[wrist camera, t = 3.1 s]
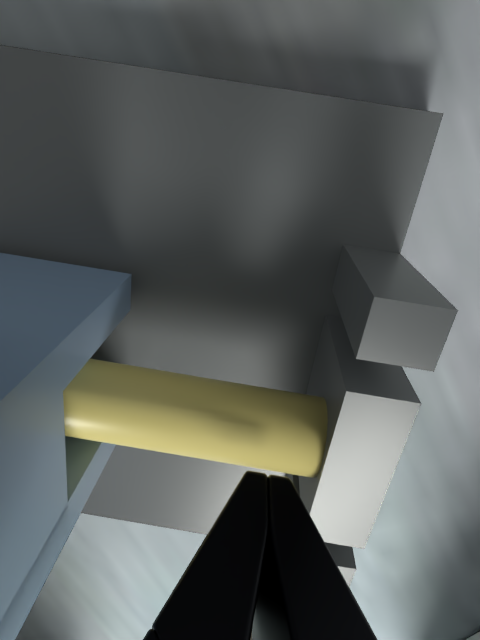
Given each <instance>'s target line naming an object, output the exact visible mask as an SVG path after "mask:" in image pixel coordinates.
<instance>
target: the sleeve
mask: <svg viewBox="0 0 480 640" xmlns="http://www.w3.org/2000/svg"><path fill="white" fill-rule="evenodd" d="M131 276H132V274H128V273H122V272H116V271H110V270H104V269H97V268H91V267H85V266H79V265H73V264H67V263H61V262H54V261H48V260H42V259H36V258H30V257H24V256H17V255H11V254H5V253H0V640H15V639H16V637H17V635H18V633H19V631H20V629H21V628H22V626H23V624H24V622H25V620H26V618H27V616H28V614H29V612H30V610H31V608H32V606H33V604H34V602H35V600H36V599H37V597H38V595H39V593H40V591H41V589H42V587H43V585H44V583H45V581H46V579H47V577H48V575H49V573H50V571H51V570H52V568H53V566H54V564H55V562H56V560H57V558H58V556H59V554H60V552H61V550H62V548H63V546H64V544H65V542H66V541H67V539H68V537H69V535H70V533H71V531H72V529H73V527H74V525H75V523H76V521H77V519H78V517H79V515H80V513H81V511H82V510H83V508H84V506H85V504H86V502H87V500H88V498H89V496H90V494H91V492H92V490H93V488H94V486H95V484H96V482H97V481H98V479H99V477H100V475H101V473H102V471H103V469H104V467H105V465H106V463H107V461H108V459H109V457H110V455H111V453H112V452H113V450H114V448H115V446H116V444H110V443H104V442H98V441H92V440H86V439H80V438H75V437H69V436H65V426H64V403H63V391H64V389H65V388H66V387H67V386H68V384H69V383H70V382H71V381H72V380H73V378H74V377H75V376H76V375H77V374H78V372H79V371H80V370H81V369H82V368H83V366H84V365H85V364H86V363H87V362H88V360H89V359H90V358H91V357H92V356H93V354H94V353H95V352H96V351H97V350H98V348H99V347H100V346H101V345H102V343H103V342H104V341H105V340H106V339H107V337H108V336H109V335H110V334H111V333H112V331H113V330H114V329H115V328H116V327H117V325H118V324H119V323H120V322H121V321H122V319H123V318H124V317H125V316H126V315H127V313H128V312H129V311H130V305H131Z"/></svg>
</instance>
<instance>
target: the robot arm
mask: <svg viewBox="0 0 480 640" xmlns="http://www.w3.org/2000/svg"><path fill="white" fill-rule="evenodd" d="M251 632H252V635H253V636H252V637H253V638H252V639H253V640H377V638H376V636H375V635H374V633H373V631H372V629H371V627H370V625H369V623H368V622H367V620H366V618H365V616H364V614H363V612H362V610H361V609H360V607H359V605H358V603H357V601H356V599H355V597H354V596H353V594H352V592H351V590H350V588H349V586H348V585H347V583H346V581H345V579H344V577H343V575H342V573H341V572H340V570H339V568H338V566H337V564H336V562H335V560H334V559H333V557H332V555H331V553H330V551H329V549H328V547H327V546H326V544H325V542H324V540H323V538H322V536H321V535H320V533H319V531H318V529H317V527H316V525H315V523H314V522H313V520H312V518H311V516H310V514H309V512H308V510H307V509H306V507H305V505H304V503H303V501H302V499H301V497H300V496H299V494H298V492H297V490H296V488H295V486H294V484H293V483H292V481H291V479H290V478H288V477H284V476H278V475H272V474H271V475H269V476H268V477H267V475H266V474H265V473H261V472H255V471H246V472H245V473H244V475H243V477H242V478H241V480H240V482H239V483H238V485H237V487H236V488H235V490H234V491H233V493H232V495H231V496H230V498H229V500H228V501H227V503H226V505H225V506H224V508H223V510H222V511H221V513H220V514H219V516H218V518H217V519H216V521H215V523H214V524H213V526H212V528H211V529H210V531H209V533H208V534H207V536H206V538H205V539H204V541H203V542H202V544H201V546H200V547H199V549H198V551H197V552H196V554H195V556H194V557H193V559H192V561H191V562H190V564H189V566H188V567H187V569H186V570H185V572H184V574H183V575H182V577H181V579H180V580H179V582H178V584H177V585H176V587H175V589H174V590H173V592H172V594H171V595H170V597H169V598H168V600H167V602H166V603H165V605H164V607H163V608H162V610H161V612H160V613H159V615H158V617H157V618H156V620H155V621H154V623H153V625H152V629H150V630H149V631H148V632H147V634H146V636H145V637H144V639H143V640H250V638H251Z"/></svg>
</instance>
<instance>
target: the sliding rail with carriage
mask: <svg viewBox="0 0 480 640" xmlns="http://www.w3.org/2000/svg"><path fill="white" fill-rule="evenodd" d="M442 117H443V113H436V112H430V111H423V110H417V109H410V108H404V107H397V106H391V105H384V104H378V103H371V102H365V101H359V100H352V99H346V98H339V97H333V96H326V95H320V94H313V93H307V92H300V91H294V90H287V89H281V88H274V87H268V86H262V85H255V84H249V83H242V82H236V81H229V80H223V79H216V78H210V77H203V76H197V75H190V74H184V73H177V72H171V71H165V70H158V69H152V68H145V67H139V66H132V65H126V64H119V63H113V62H106V61H100V60H93V59H87V58H80V57H74V56H68V55H61V54H55V53H48V52H42V51H35V50H29V49H22V48H16V47H9V46H3V45H0V253H5V254H11V255H17V256H24V257H30V258H36V259H42V260H48V261H54V262H61V263H67V264H73V265H79V266H85V267H91V268H97V269H104V270H110V271H116V272H122V273H128V274H132V276H131V305H130V311H129V312H128V313H127V315H126V316H125V317H124V318H123V319H122V321H121V322H120V323H119V324H118V325H117V327H116V328H115V329H114V330H113V331H112V333H111V334H110V335H109V336H108V337H107V339H106V340H105V341H104V342H103V343H102V345H101V346H100V347H99V348H98V350H97V351H96V352H95V353H94V354H93V356H92V357H91V358H90V359H89V360H88V362H87V363H86V364H85V365H84V366H83V368H82V369H81V370H80V371H79V372H78V374H77V375H76V376H75V377H74V378H73V380H72V381H71V382H70V383H69V384H68V386H67V387H66V388H65V389H64V391H63V403H64V426H65V436H69V437H75V438H80V439H86V440H92V441H98V442H104V443H110V444H116V446H115V448H114V450H113V452H112V453H111V455H110V457H109V459H108V461H107V463H106V465H105V467H104V469H103V471H102V473H101V475H100V477H99V479H98V481H97V482H96V484H95V486H94V488H93V490H92V492H91V494H90V496H89V498H88V500H87V502H86V504H85V506H84V508H83V510H82V511H81V513H84V514H90V515H96V516H102V517H107V518H113V519H119V520H125V521H131V522H137V523H142V524H148V525H154V526H160V527H166V528H171V529H177V530H183V531H189V532H195V533H201V534H206V535H207V534H208V533H209V531H210V529H211V528H212V526H213V524H214V523H215V521H216V519H217V518H218V516H219V514H220V513H221V511H222V510H223V508H224V506H225V505H226V503H227V501H228V500H229V498H230V496H231V495H232V493H233V491H234V490H235V488H236V487H237V485H238V483H239V482H240V480H241V478H242V477H243V475H244V473H245V472H246V471H255V472H261V473H265V474H266V475H267V477H268V476H269V475H271V474H272V475H278V476H284V477H288V478H290V479H291V481H292V483H293V484H294V486H295V488H296V490H297V492H298V494H299V496H300V497H301V499H302V501H303V503H304V505H305V507H306V509H307V510H308V512H309V514H310V516H311V518H312V520H313V522H314V523H315V525H316V527H317V529H318V531H319V533H320V535H321V536H322V538H323V540H324V542H325V544H326V546H327V547H328V549H329V551H330V553H331V555H332V557H333V559H334V560H335V562H336V564H337V566H338V568H339V570H340V572H341V573H342V575H343V577H344V579H345V581H346V583H347V585H348V586H349V587H350V584H351V581H352V579H353V576H354V574H355V571H356V565H355V559H354V554H353V548H352V547H356V548H362V549H364V548H365V546H366V543H367V541H368V538H369V536H370V533H371V531H372V528H373V525H374V523H375V520H376V518H377V515H378V513H379V510H380V508H381V505H382V502H383V500H384V497H385V495H386V492H387V490H388V487H389V485H390V482H391V480H392V477H393V474H394V472H395V469H396V467H397V464H398V462H399V459H400V457H401V454H402V451H403V449H404V446H405V444H406V441H407V439H408V436H409V434H410V431H411V429H412V426H413V423H414V421H415V418H416V416H417V413H418V411H419V408H420V406H421V402H420V400H419V398H418V397H417V395H416V393H415V391H414V389H413V387H412V385H411V383H410V382H409V380H408V378H407V376H406V374H405V372H404V370H403V368H402V366H403V367H409V368H415V369H421V370H427V371H433V372H434V370H435V367H436V365H437V362H438V360H439V357H440V355H441V352H442V350H443V347H444V344H445V342H446V339H447V337H448V334H449V332H450V329H451V327H452V324H453V321H454V319H455V316H456V314H457V311H458V310H457V309H456V308H455V307H454V306H453V305H452V304H451V303H450V302H449V301H448V300H447V299H446V298H445V297H444V296H443V295H442V294H441V293H440V292H439V291H438V290H437V289H436V288H435V287H434V286H433V285H432V284H431V283H430V282H428V281H427V280H426V279H425V278H424V277H423V276H422V275H421V274H420V273H419V272H418V271H417V270H416V269H415V268H414V267H413V266H412V265H411V264H410V263H409V262H408V261H407V260H406V259H405V258H404V257H403V256H402V255H401V254H400V252H401V249H402V246H403V242H404V239H405V236H406V233H407V229H408V226H409V223H410V220H411V217H412V213H413V210H414V207H415V204H416V200H417V197H418V194H419V191H420V187H421V184H422V181H423V178H424V175H425V171H426V168H427V165H428V162H429V158H430V155H431V152H432V149H433V146H434V142H435V139H436V136H437V133H438V129H439V126H440V123H441V120H442Z"/></svg>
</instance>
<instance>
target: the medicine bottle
mask: <svg viewBox="0 0 480 640" xmlns="http://www.w3.org/2000/svg"><path fill="white" fill-rule="evenodd" d="M466 640H480V631H479V632H478V633H476V634H474V635H473V636H471V637H469V638H467V639H466Z"/></svg>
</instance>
